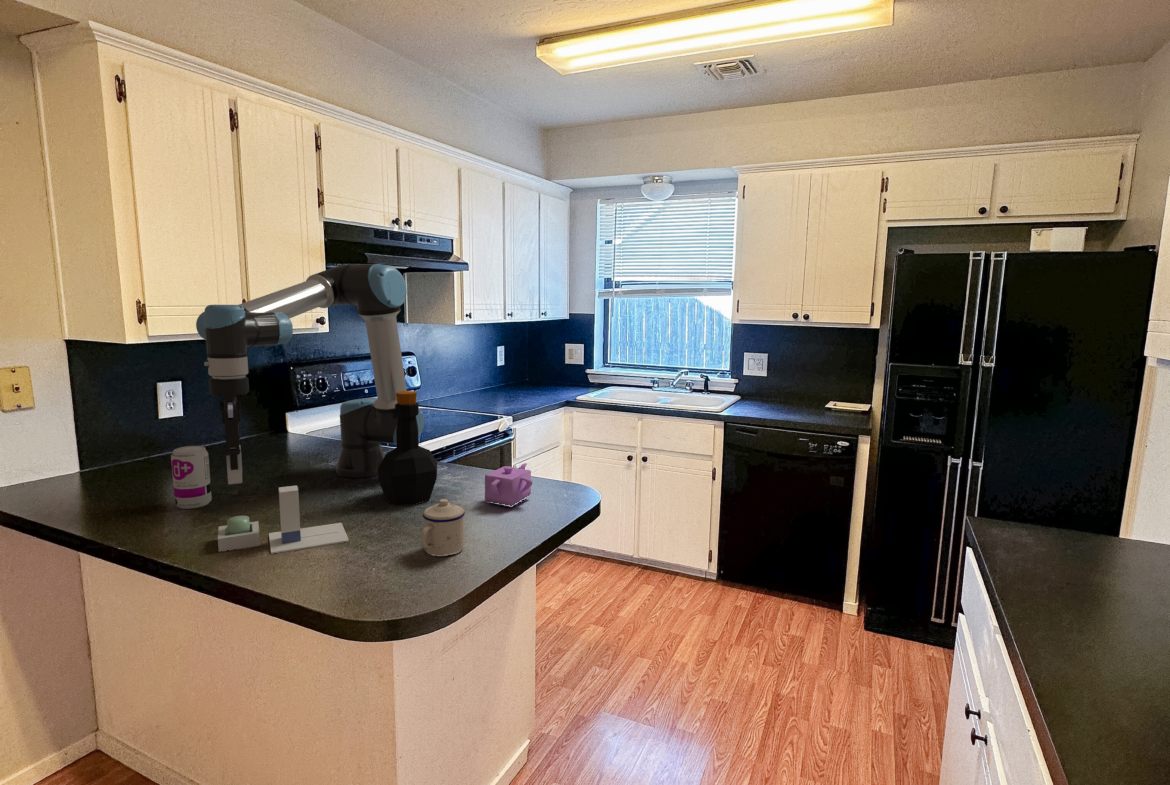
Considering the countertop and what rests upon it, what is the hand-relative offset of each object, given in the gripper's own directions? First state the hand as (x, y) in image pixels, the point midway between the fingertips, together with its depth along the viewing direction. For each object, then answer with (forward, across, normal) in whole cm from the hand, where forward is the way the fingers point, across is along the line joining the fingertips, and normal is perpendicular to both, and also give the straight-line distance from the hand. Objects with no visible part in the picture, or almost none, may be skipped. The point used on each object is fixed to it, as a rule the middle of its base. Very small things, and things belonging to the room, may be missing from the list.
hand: (235, 478), depth 139 cm
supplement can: (+15, -33, -11) cm, 38 cm away
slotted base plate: (+15, +4, +14) cm, 21 cm away
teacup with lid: (+15, +24, +39) cm, 49 cm away
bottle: (+15, -15, +41) cm, 46 cm away
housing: (+15, 0, 0) cm, 15 cm away
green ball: (+13, 0, 0) cm, 13 cm away
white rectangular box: (+15, +4, +10) cm, 18 cm away
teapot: (+15, 0, +66) cm, 68 cm away
